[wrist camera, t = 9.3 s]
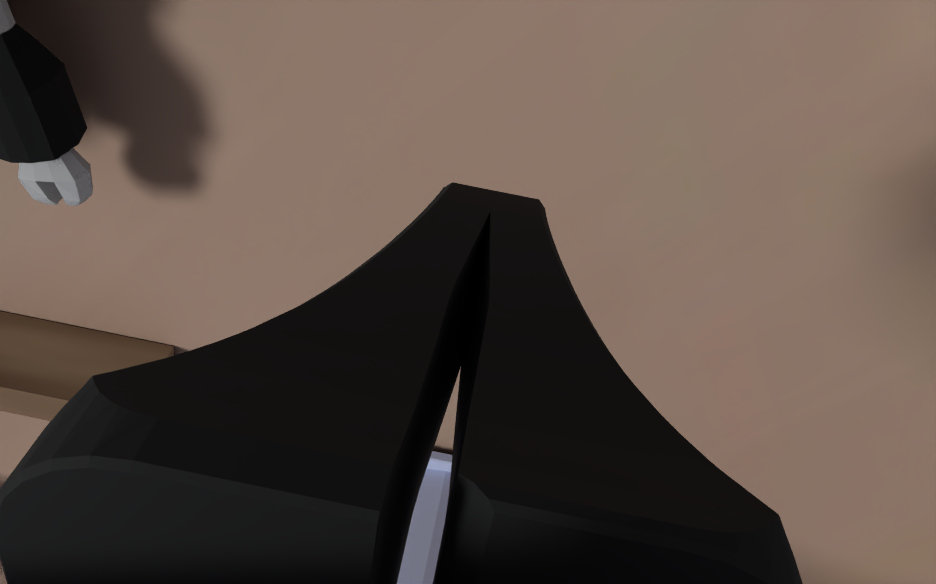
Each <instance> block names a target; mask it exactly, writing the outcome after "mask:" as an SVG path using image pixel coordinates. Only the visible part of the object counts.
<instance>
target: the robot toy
mask: <svg viewBox="0 0 936 584" xmlns="http://www.w3.org/2000/svg"><path fill="white" fill-rule="evenodd" d="M86 129H87V126H86V123H85V121H84V118H83V115H82V112H81V110H80V107H79V104H78V102H77V99H76V96H75V93H74V91H73V88H72V85H71V83H70V80H69V77H68V74H67V72H66V69H65V66H64V64H63V63H62V62H61V61H60V60H59V59H58V58H57V57H55V56H54V55H53V54H52V53H51V52H50V51H49V50H48V49H47V48H45V47H44V46H43V45H42V44H41V43H40V42H39V41H38V40H36V39H35V38H34V37H33V36H31V35H30V34H29V33H28V32H26V31H25V30H24V29H22V28H21V27H20V26H19V25H17V24H16V23H15V20H14V18H13V15H12V13H11V10H10V8H9V5H8V2H7V0H0V159H2V160H5V161H8V162H12V163H20V164H19V174H18V179H19V180H20V182H21V183H22V184H23V186H24V187H25V189H26V190H27V191H28V193H29V194H30V195H31V197H32V198H33V199H34V200H37V201H40V202H42V203H45V204H53V205H57V204H58V202H59V201H60V200H61V199H62V198H63V199H64V201H65V202H66V204H67V205H73V206H77V205H79V204H81V203H83V202H84V201H86V200H87V199H88V198H89V197H90V196H91V195H92V191H93V185H92V177H91V168H90V164H89V163H88V162H87V161H86V160H85V159H84V158H83V157H82V156H81V155H80V154H79V153H78V152H77V151H76V150H75V149H74V148H73V147H75V146H76V145H78V144H79V142H80V140H81V138H82V137H83V135H84V133H85V131H86Z"/></svg>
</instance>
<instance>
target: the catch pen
mask: <svg viewBox="0 0 936 584" xmlns="http://www.w3.org/2000/svg"><path fill="white" fill-rule="evenodd" d="M171 356H175V355H174V346H169V345H164V344H159V343H155V342H150V341H145V340H140V339H135V338H130V337H125V336H120V335H115V334H110V333H105V332H100V331H95V330H90V329H86V328H81V327H76V326H71V325H66V324H61V323H56V322H51V321H46V320H41V319H36V318H31V317H26V316H21V315H17V314H12V313H7V312H2V311H0V411H4V412H9V413H14V414H19V415H24V416H29V417H34V418H38V419H43V420H48V421H51V420H52V419H53V418H54V417H55V416H56V415H57V413H58V412H59V411H60V410H61V409H62V407H63V406H64V405H65V404H66V403H67V402H68V401H69V400H70V399H71V398H72V397H73V396H74V395H75V394H76V393H77V392H78V391H79V390H80V389H81V388H82V387H83V386H84V385H85V384H86V382H87V381H88V380H89V379H90V378H91V377H92V376H93V375H98V374H102V373H107V372H112V371H116V370H120V369H124V368H128V367H132V366H136V365H140V364H144V363H148V362H152V361H156V360H160V359H164V358H168V357H171Z"/></svg>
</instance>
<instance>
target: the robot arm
mask: <svg viewBox="0 0 936 584" xmlns="http://www.w3.org/2000/svg"><path fill="white" fill-rule="evenodd" d="M460 367H461V371H460V381H459V391H458V402H457V412H456V423H455V434H454V444H453V455H450V454H445V453H440V452H435V451H433V448H434V445H435V442H436V439H437V436H438V433H439V430H440V427H441V424H442V421H443V418H444V415H445V412H446V409H447V406H448V403H449V400H450V397H451V394H452V391H453V388H454V385H455V382H456V379H457V376H458V373H459V370H460ZM0 559H1V562H2V566H3V570H4V573H5V577H6V581H7V584H802V580H801V577H800V574H799V571H798V568H797V565H796V561H795V558H794V555H793V552H792V550H791V547H790V544H789V542H788V539H787V536H786V533H785V531H784V528H783V525H782V522H781V519H780V517H779V515H778V514H777V513H776V512H774V511H773V510H772V509H771V508H769V507H768V506H767V505H765V504H764V503H763V502H761V501H760V500H759V499H758V498H756V497H755V496H754V495H752V494H751V493H750V492H748V491H747V490H746V489H744V488H743V487H742V486H741V485H739V484H738V483H737V482H735V481H734V480H733V479H731V478H730V477H729V476H728V475H726V474H725V473H724V472H722V471H721V470H720V469H719V468H717V467H716V466H715V465H714V464H713V463H711V462H710V461H709V460H708V459H707V458H706V457H705V456H704V455H703V454H702V453H700V452H699V451H698V450H697V449H696V448H695V447H694V446H693V445H692V444H691V443H689V442H688V441H687V440H686V439H685V438H684V437H683V436H682V435H681V434H680V433H679V432H678V431H677V430H676V429H675V428H674V427H673V426H672V425H671V424H670V423H669V422H668V421H667V420H666V419H665V418H664V417H663V416H662V415H661V414H660V413H659V412H658V411H657V410H656V409H655V408H654V406H653V405H652V404H651V403H650V402H649V401H648V400H647V399H646V397H645V396H644V395H643V394H642V393H641V392H640V391H639V390H638V388H637V387H636V386H635V385H634V384H633V383H632V381H631V380H630V379H629V378H628V376H627V375H626V374H625V373H624V371H623V370H622V369H621V367H620V366H619V364H618V363H617V362H616V360H615V359H614V357H613V356H612V355H611V353H610V352H609V350H608V349H607V347H606V346H605V344H604V342H603V341H602V339H601V338H600V336H599V334H598V333H597V331H596V330H595V328H594V326H593V324H592V323H591V321H590V319H589V317H588V315H587V314H586V312H585V310H584V308H583V306H582V305H581V303H580V301H579V299H578V297H577V295H576V293H575V291H574V289H573V286H572V284H571V282H570V280H569V278H568V275H567V273H566V271H565V269H564V266H563V264H562V262H561V259H560V257H559V254H558V252H557V249H556V246H555V243H554V241H553V238H552V235H551V232H550V228H549V225H548V221H547V217H546V212H545V208H544V206H543V205H542V203H541V202H540V200H539V199H533V198H528V197H523V196H518V195H513V194H508V193H503V192H498V191H493V190H488V189H483V188H478V187H473V186H468V185H463V184H458V183H451V184H449V185H447V186H446V187H444V188H443V189H442V190H441V192H440V193H439V194H438V195H437V196H436V198H435V199H434V200H433V201H432V202H431V203H430V204H429V205H428V207H427V208H426V209H425V210H424V211H423V212H422V213H421V214H420V215H419V216H418V217H417V218H416V219H415V220H414V221H413V222H412V223H411V224H410V225H409V226H407V227H406V228H405V229H404V230H403V231H402V232H401V233H400V234H399V235H397V236H396V237H395V238H394V239H393V240H392V241H391V242H390V243H389V244H388V245H386V246H385V247H384V248H383V249H382V250H380V251H379V252H378V253H376V254H375V255H374V256H373V257H371V258H370V259H369V260H367V261H366V262H365V263H363V264H362V265H361V266H360V267H358V268H357V269H356V270H354V271H353V272H352V273H350V274H349V275H348V276H346V277H345V278H343V279H342V280H340V281H339V282H337V283H336V284H334V285H333V286H331V287H330V288H328V289H327V290H325V291H324V292H322V293H320V294H318V295H317V296H315V297H313V298H312V299H310V300H308V301H307V302H305V303H303V304H302V305H300V306H298V307H296V308H294V309H292V310H290V311H288V312H286V313H283V314H281V315H279V316H277V317H275V318H273V319H271V320H269V321H266V322H264V323H262V324H260V325H258V326H256V327H254V328H251V329H249V330H247V331H244V332H242V333H239V334H236V335H234V336H231V337H228V338H226V339H223V340H220V341H218V342H215V343H212V344H209V345H206V346H203V347H200V348H197V349H194V350H191V351H188V352H185V353H181V354H178V355H175V356H171V357H168V358H164V359H160V360H156V361H152V362H148V363H144V364H140V365H136V366H132V367H128V368H124V369H120V370H116V371H112V372H107V373H102V374H98V375H93V376H92V377H91V378H90V379H89V380H88V381H87V382H86V384H85V385H84V386H83V387H82V388H81V389H80V390H79V391H78V392H77V393H76V394H75V395H74V396H73V397H72V398H71V399H70V400H69V401H68V402H67V403H66V404H65V405H64V406H63V407H62V409H61V410H60V411H59V412H58V413H57V415H56V416H55V417H54V418H53V419H52V420H51V422H50V423H49V424H48V425H47V426H46V428H45V429H44V430H43V432H42V433H41V434H40V436H39V437H38V438H37V440H36V441H35V442H34V444H33V445H32V446H31V448H30V449H29V450H28V452H27V453H26V455H25V456H24V457H23V459H22V460H21V461H20V463H19V464H18V465H17V467H16V468H15V469H14V471H13V472H12V473H11V475H10V476H9V477H8V479H7V480H6V481H5V483H4V484H3V485H2V487H1V489H0Z"/></svg>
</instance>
